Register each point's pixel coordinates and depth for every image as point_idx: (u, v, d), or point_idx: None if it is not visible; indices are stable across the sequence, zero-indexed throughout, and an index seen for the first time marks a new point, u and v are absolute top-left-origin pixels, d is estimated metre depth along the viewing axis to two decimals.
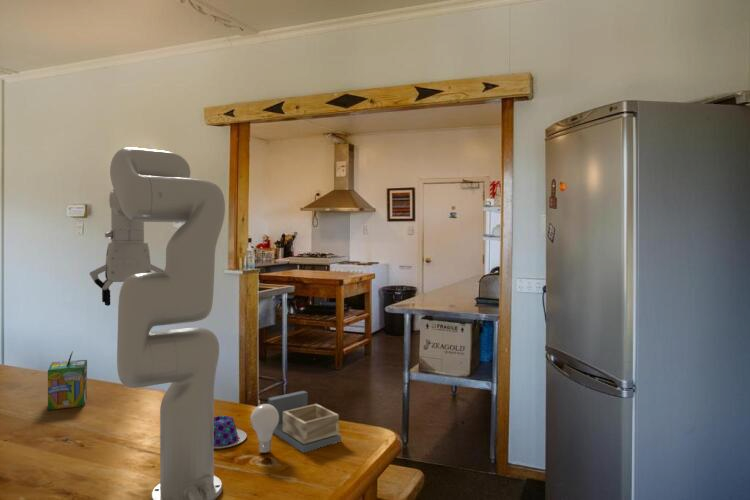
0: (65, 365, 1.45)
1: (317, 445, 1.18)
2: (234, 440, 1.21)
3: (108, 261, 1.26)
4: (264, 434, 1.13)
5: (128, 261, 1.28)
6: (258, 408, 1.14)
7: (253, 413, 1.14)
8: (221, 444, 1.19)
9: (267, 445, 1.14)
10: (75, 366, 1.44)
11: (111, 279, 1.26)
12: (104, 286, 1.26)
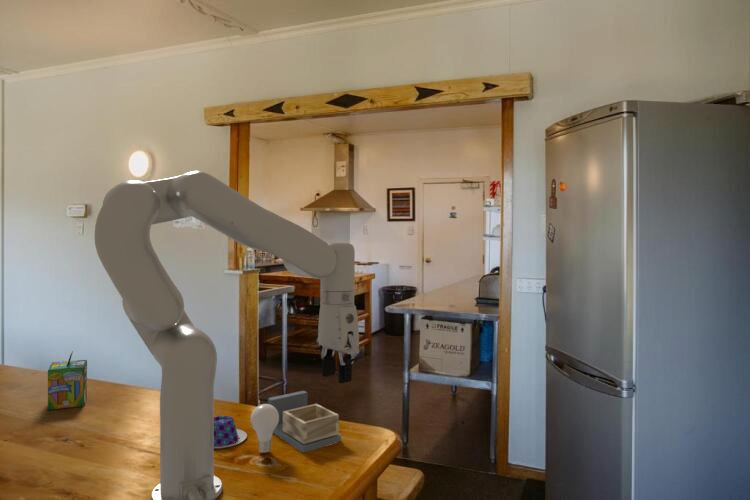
0: (65, 365, 1.45)
1: (317, 445, 1.18)
2: (235, 440, 1.22)
3: (356, 327, 1.11)
4: (264, 434, 1.13)
5: None
6: (258, 408, 1.14)
7: (253, 413, 1.14)
8: (222, 444, 1.19)
9: (267, 445, 1.14)
10: (75, 366, 1.44)
11: None
12: None
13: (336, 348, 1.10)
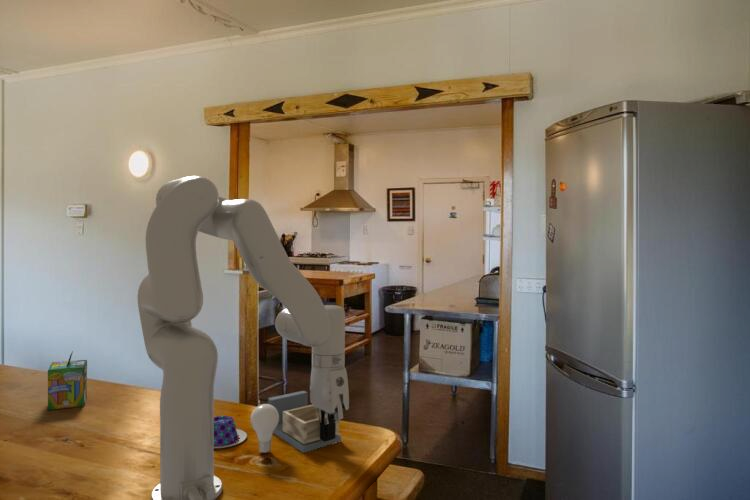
0: (65, 365, 1.45)
1: (317, 445, 1.18)
2: (235, 439, 1.22)
3: (346, 390, 1.14)
4: (264, 434, 1.13)
5: None
6: (258, 408, 1.14)
7: (253, 413, 1.14)
8: (223, 444, 1.19)
9: (267, 445, 1.14)
10: (75, 366, 1.44)
11: None
12: None
13: (326, 410, 1.13)
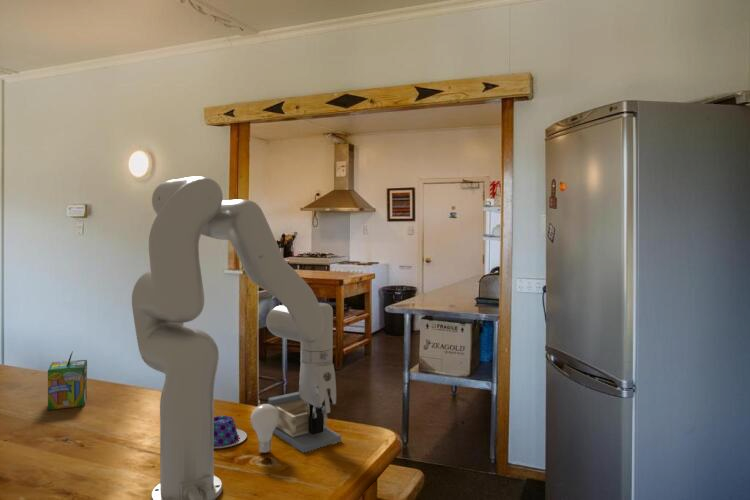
0: (65, 365, 1.45)
1: (317, 445, 1.18)
2: (235, 439, 1.22)
3: (334, 384, 1.18)
4: (264, 434, 1.13)
5: None
6: (258, 408, 1.14)
7: (253, 413, 1.14)
8: (224, 443, 1.19)
9: (267, 445, 1.14)
10: (75, 366, 1.44)
11: None
12: None
13: (314, 404, 1.17)
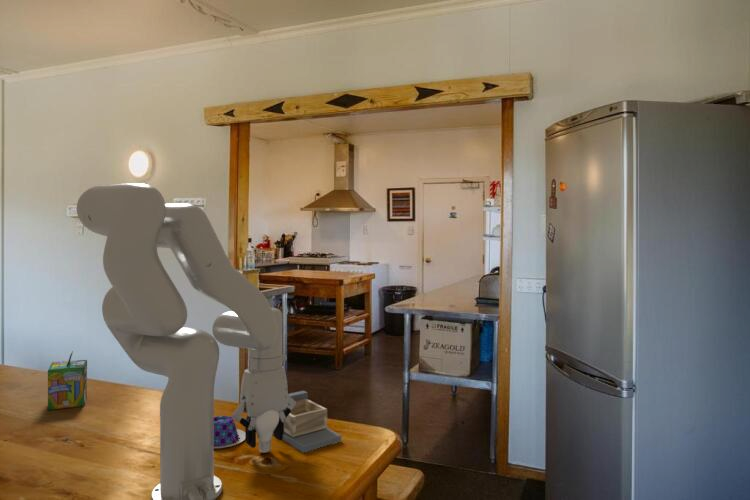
0: (65, 365, 1.45)
1: (317, 445, 1.18)
2: (236, 438, 1.22)
3: None
4: (264, 434, 1.13)
5: None
6: None
7: None
8: (226, 443, 1.20)
9: (267, 445, 1.15)
10: (75, 366, 1.44)
11: None
12: None
13: (280, 408, 1.15)
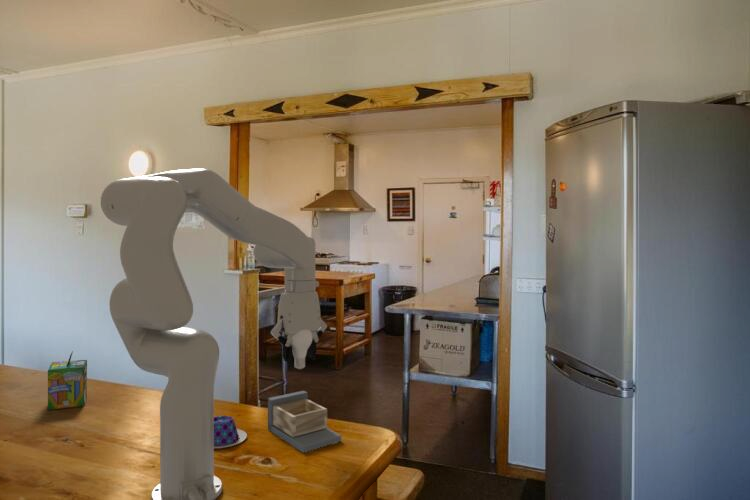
0: (65, 365, 1.45)
1: (317, 445, 1.18)
2: (236, 438, 1.23)
3: None
4: (300, 351, 1.24)
5: None
6: None
7: None
8: (227, 443, 1.20)
9: (302, 361, 1.25)
10: (75, 366, 1.44)
11: None
12: None
13: (314, 329, 1.26)
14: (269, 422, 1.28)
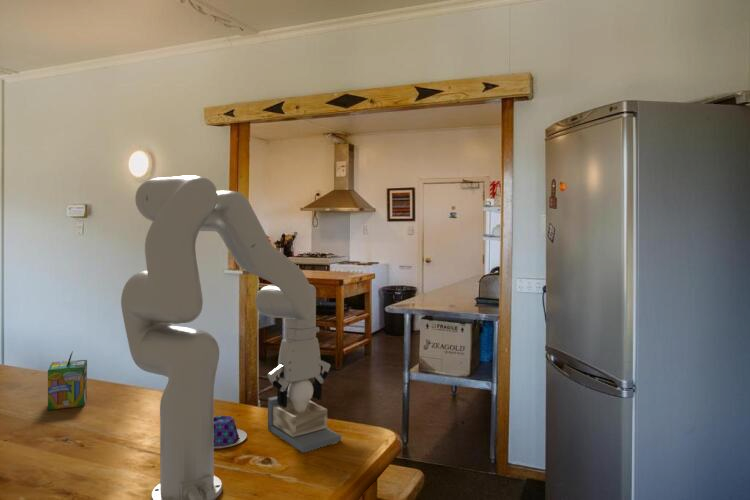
0: (65, 365, 1.45)
1: (317, 445, 1.18)
2: (237, 437, 1.23)
3: None
4: (300, 404, 1.25)
5: None
6: None
7: (290, 385, 1.25)
8: (228, 442, 1.20)
9: None
10: (75, 366, 1.44)
11: None
12: None
13: (314, 375, 1.27)
14: (269, 422, 1.28)
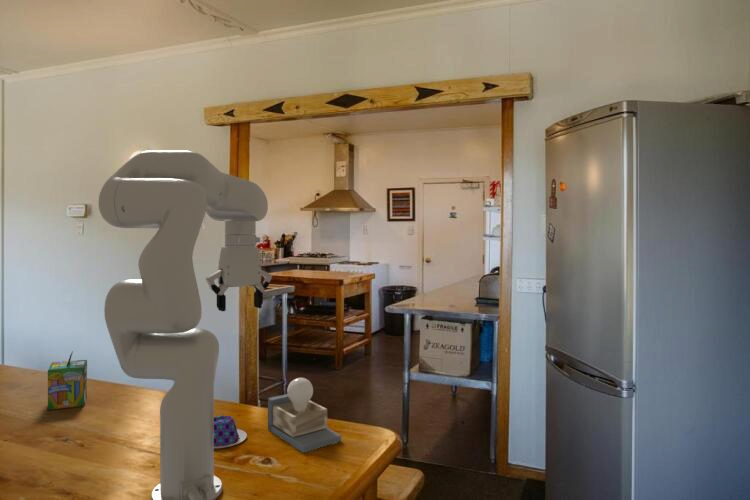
0: (65, 365, 1.45)
1: (317, 445, 1.18)
2: (237, 437, 1.23)
3: None
4: (300, 404, 1.25)
5: None
6: (294, 381, 1.25)
7: (290, 385, 1.25)
8: (229, 442, 1.20)
9: None
10: (75, 366, 1.44)
11: None
12: None
13: (254, 283, 1.30)
14: (269, 422, 1.28)
